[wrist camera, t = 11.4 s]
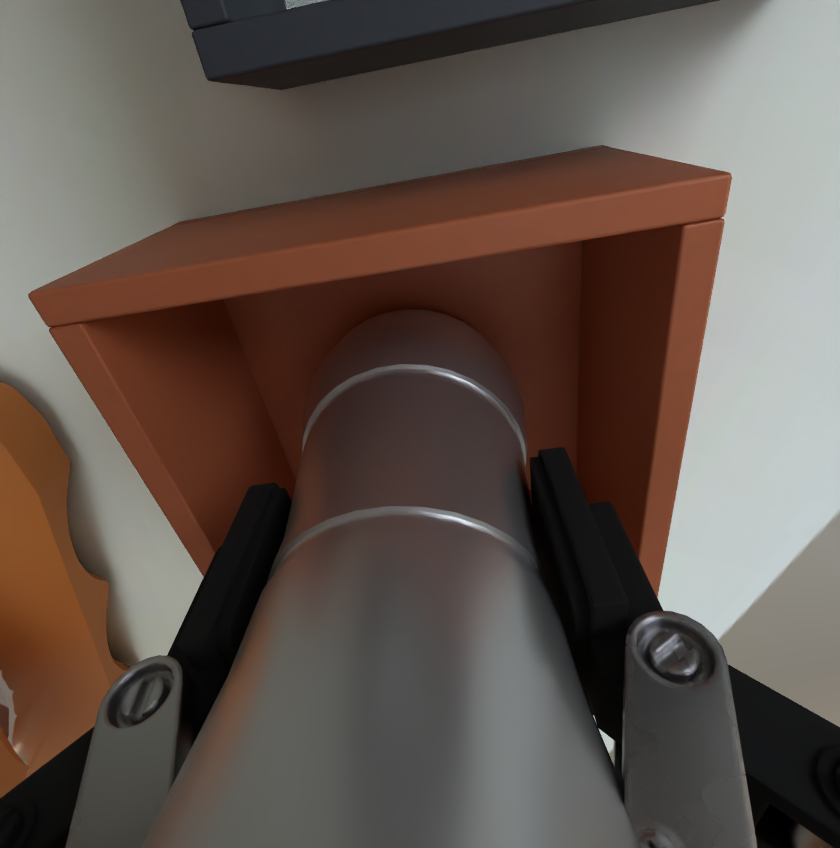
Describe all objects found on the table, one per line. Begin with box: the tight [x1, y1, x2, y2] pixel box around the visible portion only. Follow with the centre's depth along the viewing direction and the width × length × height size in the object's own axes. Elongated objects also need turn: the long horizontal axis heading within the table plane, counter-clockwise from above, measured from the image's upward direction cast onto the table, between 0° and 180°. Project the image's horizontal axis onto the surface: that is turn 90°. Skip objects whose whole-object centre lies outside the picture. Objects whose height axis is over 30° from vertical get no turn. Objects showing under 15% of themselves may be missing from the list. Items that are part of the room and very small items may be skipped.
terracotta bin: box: [28, 145, 732, 597], centre depth 14 cm, size 12×12×7 cm
